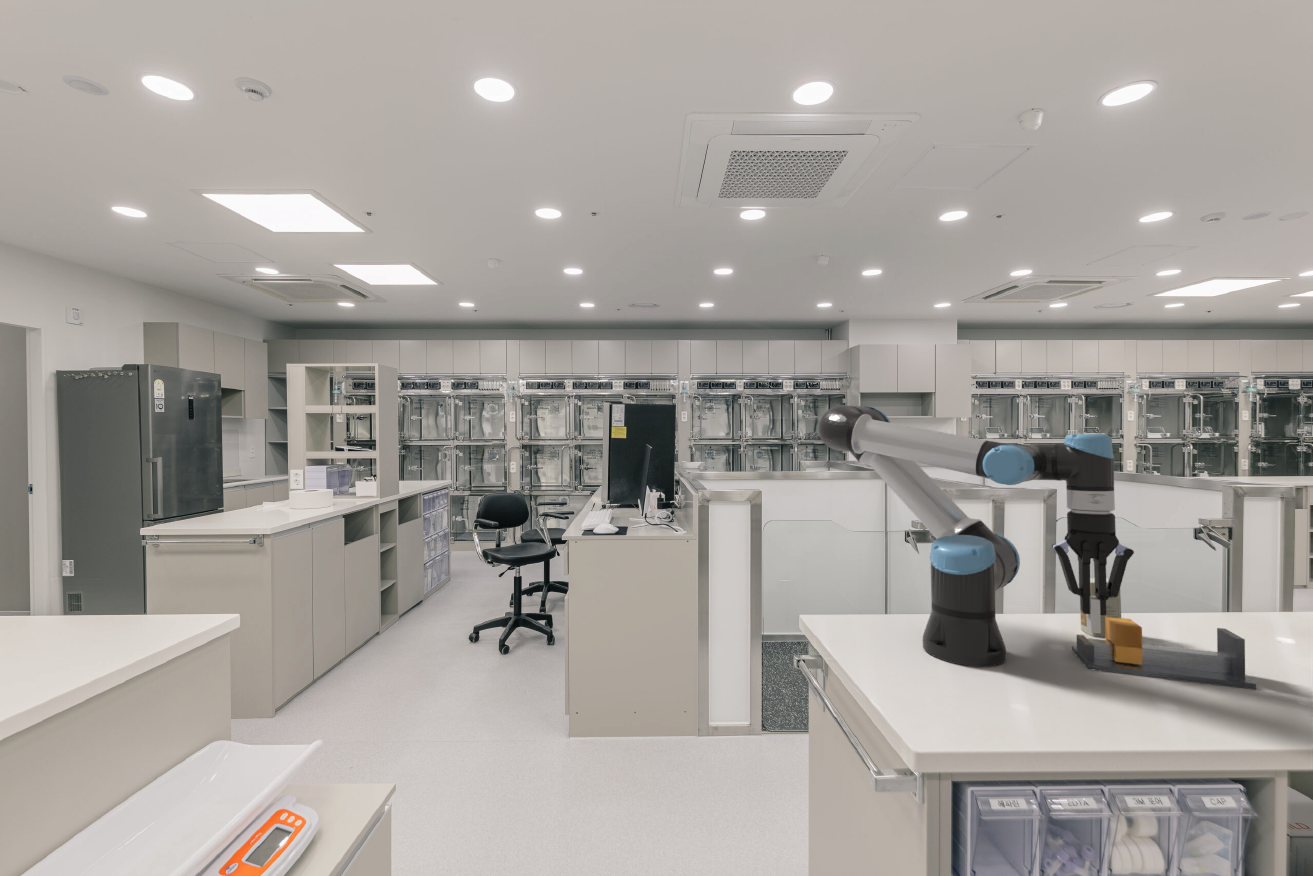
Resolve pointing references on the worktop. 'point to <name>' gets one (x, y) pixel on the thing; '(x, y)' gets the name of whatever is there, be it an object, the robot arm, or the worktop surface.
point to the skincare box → (1111, 610)
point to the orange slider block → (1124, 639)
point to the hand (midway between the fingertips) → (1093, 630)
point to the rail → (1167, 672)
